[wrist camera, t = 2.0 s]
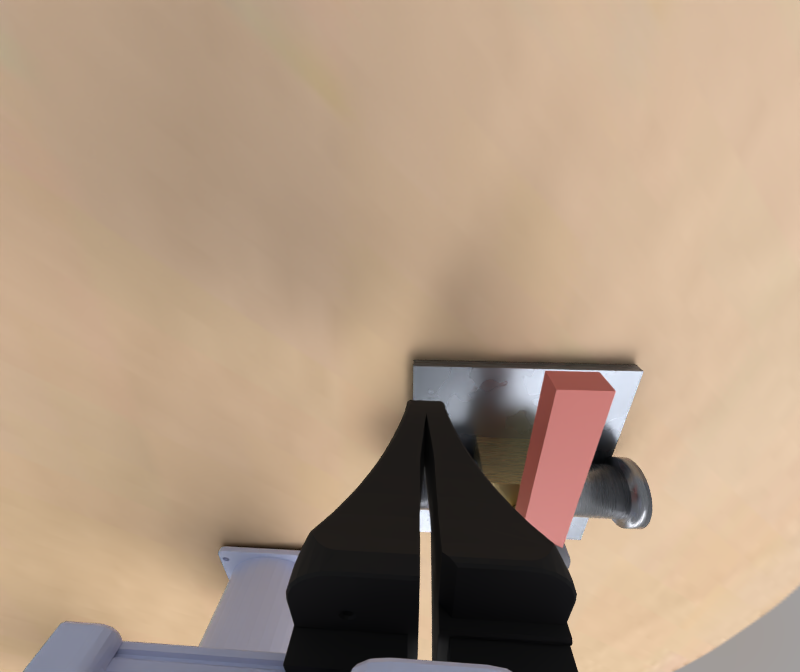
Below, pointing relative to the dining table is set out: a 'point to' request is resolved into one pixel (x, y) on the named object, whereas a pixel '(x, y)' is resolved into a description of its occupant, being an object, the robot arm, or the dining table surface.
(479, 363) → the valve assembly
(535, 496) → the valve lever
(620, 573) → the dining table surface
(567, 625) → the robot arm
